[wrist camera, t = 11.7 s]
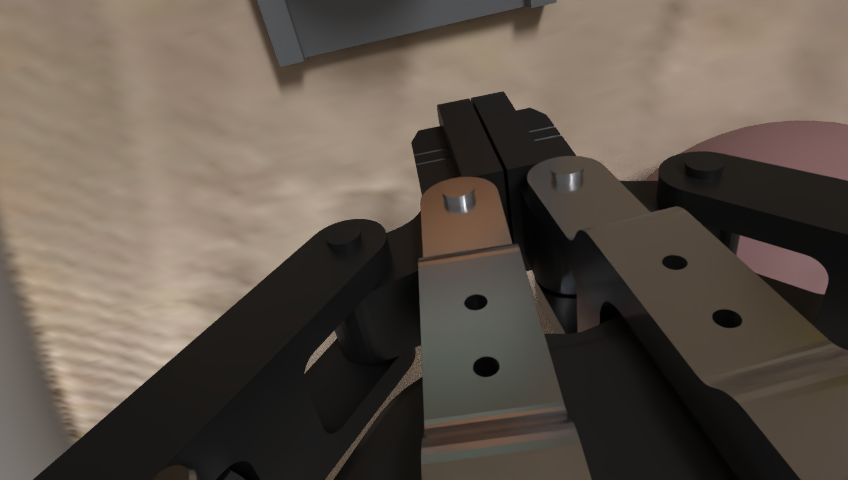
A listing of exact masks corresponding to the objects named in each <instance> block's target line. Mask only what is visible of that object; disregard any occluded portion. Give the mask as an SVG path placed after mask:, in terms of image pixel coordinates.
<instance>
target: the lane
mask: <svg viewBox="0 0 848 480" xmlns="http://www.w3.org/2000/svg"><path fill="white" fill-rule="evenodd" d="M257 2H258V5H259V8H260V11H261V14H262V17H263V20H264V23H265V25H266V28H267V31H268V34H269V37H270V40H271V43H272V46H273V49H274V52H275V54H276V57H277V60H278V63H279V66H280V67H283V66H287V65H291V64H296V63H300V62H304V60H305V58H307V57H311V56H315V55H320V54H324V53H328V52H333V51H337V50H341V49H345V48H350V47H354V46H358V45H362V44H367V43H371V42H375V41H379V40H384V39H388V38H392V37H397V36H401V35H405V34H409V33H414V32H418V31H422V30H426V29H431V28H435V27H439V26H443V25H448V24H452V23H456V22H461V21H465V20H469V19H473V18H478V17H482V16H486V15H490V14H495V13H499V12H503V11H508V10H512V9H516V8H520V7H525V6H529V7H531V8H535V7H539V6H543V5H548V4H552V3H556V0H257Z"/></svg>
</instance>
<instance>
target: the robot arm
mask: <svg viewBox="0 0 848 480" xmlns="http://www.w3.org/2000/svg"><path fill="white" fill-rule="evenodd" d="M437 111H438V118H439V124H440V126H439V127H434V128H429V129H424V130H419V131H418V132H417V134H416V136H415V137H414V139H413V141H412V142H411V143H412V148H413V153H414V158H415V163H416V168H417V173H418V178H419V183H420V188H421V193H422V198H421V202H420V205H421V211H420V212H419V214H418V215H417V216H416V217H415V218H414V219H413V220H411V221H410V222H409V223H407V224H405V225H404V226H402V227H399V228H397V229H395V230H393V231H390V232H388V233H386V231H385V229H384V228H383V226H381V225H380V224H379V223H377V222H375V221H371V220H366V219H352V220H346V221H342V222H338V223H335V224H332V225H330V226H328V227H326V228H324V229H323V230H321V231H319V232H318V233H317V234H315V235H314V236H313V237H312V238H311V239H310V240H308V241H307V242H306V243H305V244H304V245H303V246H302V247H300V248H299V249H298V250H297V251H296V252H295V253H294V254H292V255H291V256H290V257H289V258H288V259H287V260H285V261H284V262H283V263H282V264H281V265H280V266H279V267H277V268H276V269H275V270H274V271H273V272H272V273H270V274H269V275H268V276H267V277H266V278H265V279H264V280H262V281H261V282H260V283H259V284H258V285H257V286H256V287H254V288H253V289H252V290H251V291H250V292H249V293H247V294H246V295H245V296H244V297H243V298H242V299H241V300H239V301H238V302H237V303H236V304H235V305H234V306H232V307H231V308H230V309H229V310H228V311H227V312H226V313H224V314H223V315H222V316H221V317H220V318H219V319H218V320H216V321H215V322H214V323H213V324H212V325H211V326H209V327H208V328H207V329H206V330H205V331H204V332H203V333H201V334H200V335H199V336H198V337H197V338H196V339H194V340H193V341H192V342H191V343H190V344H189V345H188V346H186V347H185V348H184V349H183V350H182V351H181V352H180V353H178V354H177V355H176V356H175V357H174V358H173V359H171V360H170V361H169V362H168V363H167V364H166V365H165V366H163V367H162V368H161V369H160V370H159V371H158V372H156V373H155V374H154V375H153V376H152V377H151V378H150V379H148V380H147V381H146V382H145V383H144V384H143V385H142V386H140V387H139V388H138V389H137V390H136V391H135V392H133V393H132V394H131V395H130V396H129V397H128V398H127V399H125V400H124V401H123V402H122V403H121V404H120V405H118V406H117V407H116V408H115V409H114V410H113V411H112V412H110V413H109V414H108V415H107V416H106V417H105V418H104V419H102V420H101V421H100V422H99V423H98V424H97V425H95V426H94V427H93V428H92V429H91V430H90V431H89V432H87V433H86V434H85V435H84V436H83V437H82V438H80V439H79V440H78V441H77V442H76V443H75V444H74V445H72V446H71V447H70V448H69V449H68V450H67V451H66V452H64V453H63V454H62V455H61V456H60V457H59V458H57V460H55V461H54V462H53V463H52V464H51V465H49V466H48V467H47V468H46V469H45V470H44V471H42V472H41V473H40V474H39V475H38V476H37V477H36V478H34V479H33V480H325V479H326V477H327V476H328V475H329V473H330V472H331V471H332V469H333V468H334V467H335V466H336V464H337V463H338V462H339V460H340V459H341V458H342V456H343V455H344V454H345V452H346V451H347V450H348V448H349V447H350V446H351V444H352V443H353V442H354V441H355V439H356V438H357V437H358V435H359V434H360V433H361V431H362V430H363V429H364V427H365V426H366V425H367V423H368V422H369V421H370V419H371V418H372V417H373V416H374V414H375V413H376V412H377V410H378V409H379V408H380V406H381V405H382V404H383V402H384V401H385V400H386V398H387V397H388V396H389V394H390V393H391V392H392V390H393V389H394V388H395V387H396V385H397V384H398V383H399V381H400V380H401V379H402V377H403V376H404V375H405V373H406V372H407V371H408V369H409V368H410V367H411V365H412V364H413V361H414V359H415V354H416V351H415V347H418V346H420V345H421V351H422V376H423V377H422V378H420V379H418V380H417V381H415V382H414V383H413V384H411V385H410V386H408V387H407V388H405V389H404V390H403V391H402V392H401V393H400V394H398V395H397V396H396V397H395V398H394V399H393V400H392V401H391V402H390V403H389V404H388V405H387V406H386V407H385V408H384V410H383V411H382V412H381V413H380V414H379V416H378V417H377V418H376V420H375V421H374V423H373V424H372V426H371V427H370V428H369V430H368V431H367V433H366V434H365V435H364V437H363V438H362V440H361V441H360V443H359V444H358V445H357V447H356V448H355V450H354V451H353V453H352V454H351V455H350V457H349V458H348V460H347V461H346V463H345V464H344V465H343V467H342V468H341V470H340V471H339V473H338V474H337V475H336V477H335V478H334V480H848V181H847V180H843V179H838V178H834V177H829V176H824V175H820V174H815V173H810V172H806V171H801V170H797V169H792V168H787V167H783V166H778V165H773V164H769V163H764V162H760V161H755V160H750V159H746V158H741V157H736V156H732V155H727V154H722V153H717V152H708V151H696V152H687V153H682V154H678V155H675V156H672V157H670V158H668V159H666V160H665V161H664V162H663V163H662V164H661V165H660V167H659V171H658V181H619V180H618V179H617V178H616V177H615V176H614V175H613V174H612V173H611V172H610V171H609V170H608V169H607V168H606V167H605V166H604V165H603V164H601V163H600V162H598V161H596V160H594V159H591V158H587V157H581V156H576V155H575V153H574V152H573V151H572V149H571V148H570V146H569V145H568V144H567V142H566V141H565V140H564V138H563V137H562V136H560V133H559V132H558V130H557V129H556V127H554V125H553V123H552V122H551V121H550V119H549V118H548V117H547V115H545V114H543V113H541V112H539V111H537V110H534V109H532V108H527V109H522V110H517V111H516V110H515V109H514V107H513V105H512V104H511V102H510V101H509V99H508V97H507V96H506V94H505V93H504V92H498V93H493V94H488V95H483V96H478V97H473V98H471V101H470V99H464V100H459V101H454V102H449V103H444V104H439V105H437ZM740 235H741V236H744V237H747V238H751V239H754V240H757V241H761V242H764V243H767V244H771V245H774V246H777V247H781V248H784V249H787V250H791V251H794V252H797V253H801V254H804V255H807V256H810V257H812V258H813V259H815V260H817V261H818V262H819V263H820V264H821V265H822V266H823V267H824V268H825V270H826V272H827V274H828V285H827V288H826V291H825V294H817V293H814V292H811V291H808V290H805V289H802V288H799V287H796V286H793V285H790V284H787V283H784V282H781V281H778V280H775V279H772V278H769V277H766V276H763V275H760V274H757V273H755V272H754V271H752V270H751V269H750V268H749V267H748V266H747V265H746V264H745V263H744V262H743V261H741V260H740V259H739V258H738V257H737V256H736V255H737V249H738V244H739V238H740ZM529 270H532V271H533V273H534V276H535V290H536V298H537V300H538V302H539V304H540V306H541V308H542V310H543V312H544V314H545V315H546V317H547V319H548V321H549V323H550V325H551V326H552V328H553V330H554V332H555V334H544V331H543V328H542V325H541V321H540V318H539V314H538V311H537V307H536V304H535V300H534V297H533V293H532V290H531V286H530V283H529V279H528V276H527V272H526V271H529ZM334 330H335V333H336V335H337V339H336V340H335V341H334V342H333V343H332V345H331V346H330V347H329V348H328V349H327V350H326V351H325V352H324V353H323V354H322V355H321V357H320V358H319V359H318V360H317V361H316V362H315V363H314V364H313V365H312V366H311V367H310V369H309V370H308V371H307V372H306V373H305V374H304V372H305V368H306V365H307V362H308V360H309V358H310V357H311V355H312V354H313V353H314V352H315V350H316V349H317V348H318V347H319V346H320V345H321V344H322V343H323V342H324V341H325V340H326V339H327V338H328V337H329V335H330V334H331V333H332V332H333V331H334Z"/></svg>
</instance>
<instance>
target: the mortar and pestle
mask: <svg viewBox="0 0 848 480" xmlns="http://www.w3.org/2000/svg"><path fill="white" fill-rule="evenodd" d="M696 151H708V152H717V153H722V154H727V155H732V156H736V157H741V158H746V159H750V160H755V161H760V162H764V163H769V164H773V165H778V166H783V167H787V168H792V169H797V170H801V171H806V172H810V173H815V174H820V175H824V176H829V177H834V178H838V179H843V180H847V181H848V125H846V124H840V123H835V122H822V121H784V122H772V123H765V124H760V125H754V126H749V127H744V128H741V129H737V130H734V131H731V132H727V133H724V134H721V135H718V136H716V137H713V138H711V139H708V140H706V141H704V142H701V143H699V144H697V145H695V146H693V147H691V148H689V149H687V150H686V151H684V152H682V153H687V152H696ZM682 153H680V154H682ZM658 171H659V168H658V169H657V170H656V171H655V172H654V173H653V174H652V175H651V176H650V177H648V178H647V179H646V180H645V181H658ZM736 256H737V257H738V258H739V259H740V260H741V261H743V262H744V263H745V264H746V265H747V266H748V267H749V268H750V269H751V270H752V271H754V272H755V273H757V274H760V275H763V276H766V277H769V278H772V279H775V280H778V281H781V282H784V283H787V284H790V285H793V286H796V287H799V288H802V289H805V290H808V291H811V292H814V293H817V294H825V291H826V288H827V285H828V274H827V272H826V270H825V268H824V267H823V266H822V265H821V264H820V263H819V262H818V261H817V260H815V259H813V258H812V257H810V256H807V255H804V254H801V253H797V252H794V251H791V250H787V249H784V248H781V247H777V246H774V245H771V244H767V243H764V242H761V241H757V240H754V239H751V238H747V237H744V236H741V235H740V238H739V244H738V249H737V255H736Z"/></svg>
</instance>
